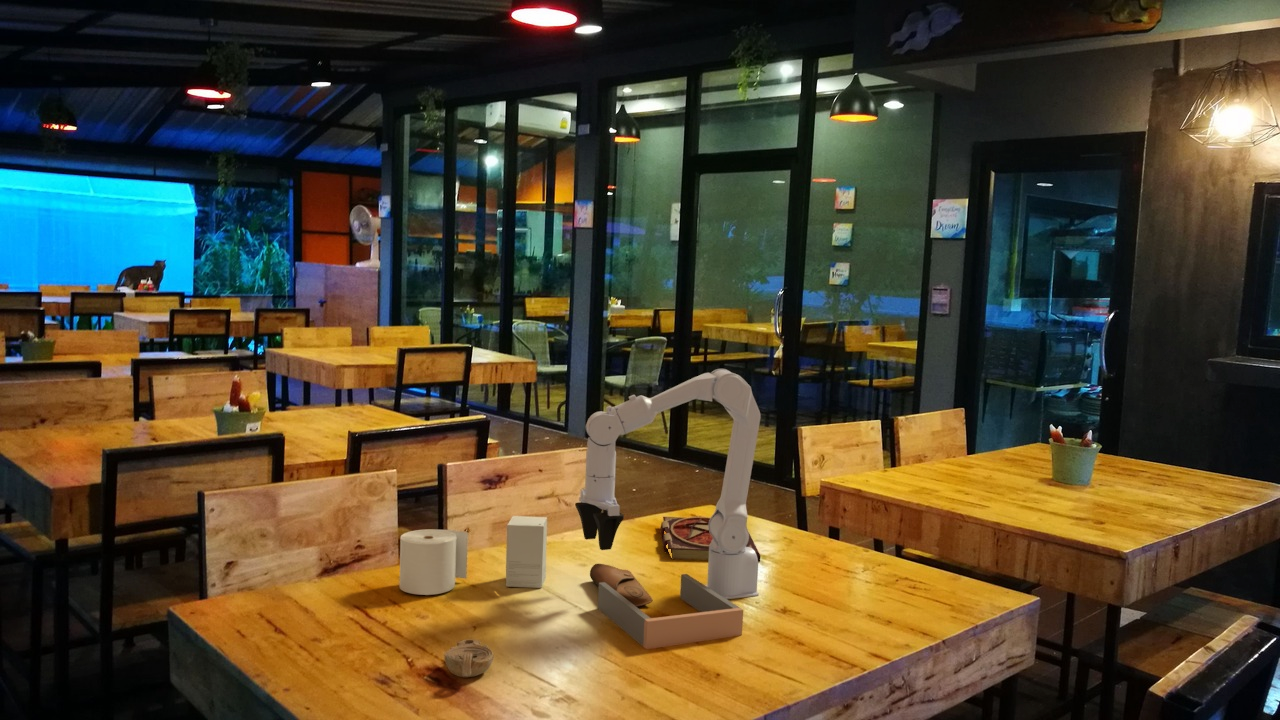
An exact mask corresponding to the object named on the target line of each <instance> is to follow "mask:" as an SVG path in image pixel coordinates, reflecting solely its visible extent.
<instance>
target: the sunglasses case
mask: <svg viewBox="0 0 1280 720" xmlns="http://www.w3.org/2000/svg"><path fill="white" fill-rule="evenodd" d="M589 577H590V579H591V581H592V582H593V583H594V584H595V586H597V588H598V589H599V583H602V582H605V583H606V584H608V585H609V586H610V587H612V588H613V589H614V590H615V591H617V592H618V593H619V594H621V595H622V596H623V597H624V598H626V599H627V600H628V601H629V602H631V603H632V604H633V605H635V606H636V607H637V608H639V607H642V606H646V605H649V604H650V603H652V602H653V601H654V600H653V598H652V596H651V595H650V593H648V591H647V590H646V589H645V588H644V586H642V584H641V583H640V582H639V581H638V579H637V578H636V577H635V576H634V574H633V573H632V571H630V570H628V569H620V568H619V567H615V566H614V565H613V566H612V565H609V564H605V563H595V564H593V565H592V566H591V568H590V571H589Z"/></svg>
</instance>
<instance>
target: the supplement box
mask: <svg viewBox="0 0 1280 720" xmlns="http://www.w3.org/2000/svg"><path fill="white" fill-rule="evenodd" d="M547 533H548V517H547V516H522V515H521V516H520V515H512V517H511V518H510V520H508V523H507V524H506V554H505V555H506V556H505V560H506V562H505V587H507V588H509V587H511V588H512V587H514V588H533V589H534V588H535V589H536V588H537V589H542V588H543V585H544V583H545V580H546V576H547V573H546V572H547V542H548V539H547V538H548V534H547Z"/></svg>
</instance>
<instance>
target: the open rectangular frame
mask: <svg viewBox="0 0 1280 720" xmlns="http://www.w3.org/2000/svg"><path fill="white" fill-rule="evenodd" d="M705 585H706V584H703V583H702V582H700V581H699V580H697V579H695V577H692V576H691V575H690V574H688V573H682V574H681V576H680V591H679V593H680V595H679V599H681V600H682V601H683V602H685V603H686V604H688V605H689V606H690V607H692V608H694V609H695V610H697V611H698V612H692V613H685V614H675V615H669V616H659V617H650V616H649V615H648V614H646V613H645V612H643V611H642V610H641V609H640V608H639V607H636V606H635V605H633V604H632V603H631V602H629V601H628V600H627V599H626V598H624V597H623V596H622V595H621V594H619V593H618V592H617V591H615V590H614V589H613V588H612V587H610V586H609V585H608V584H606V583H605V582H602V583H599V588H598V591H597V592H598V593H597V610H599V611H600V612H601V613H603V614H604V616H606V617H607V618H608V619H609V620H610V621H612V622H613V623H614V624H615V625H616V626H618V627H619V628H620V629H622V630H623V632H625V633H626V634H628V635H629V636H630V637H631V638H632V639H633V640H634V641H635V642H637V643H638V644H640V645H641V647H643V648H644V649H646V650H649V649H656V648H662V647H664V648H665V647H671V646H677V645H678V646H679V645H684V644H690V643H698V642H704V641H711V640H719V639H725V638H730V637H732V638H733V637H737V636H742V635H743V623H744V609H743V608H741V607H739V606H738V605H737V604H735V603H733V602H731V601H730V599H725V598H724V597H722V596H721V595H719V594H718V593H716V592H714V591H713V590H711V589H710V588H708V587H707V586H705Z"/></svg>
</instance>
